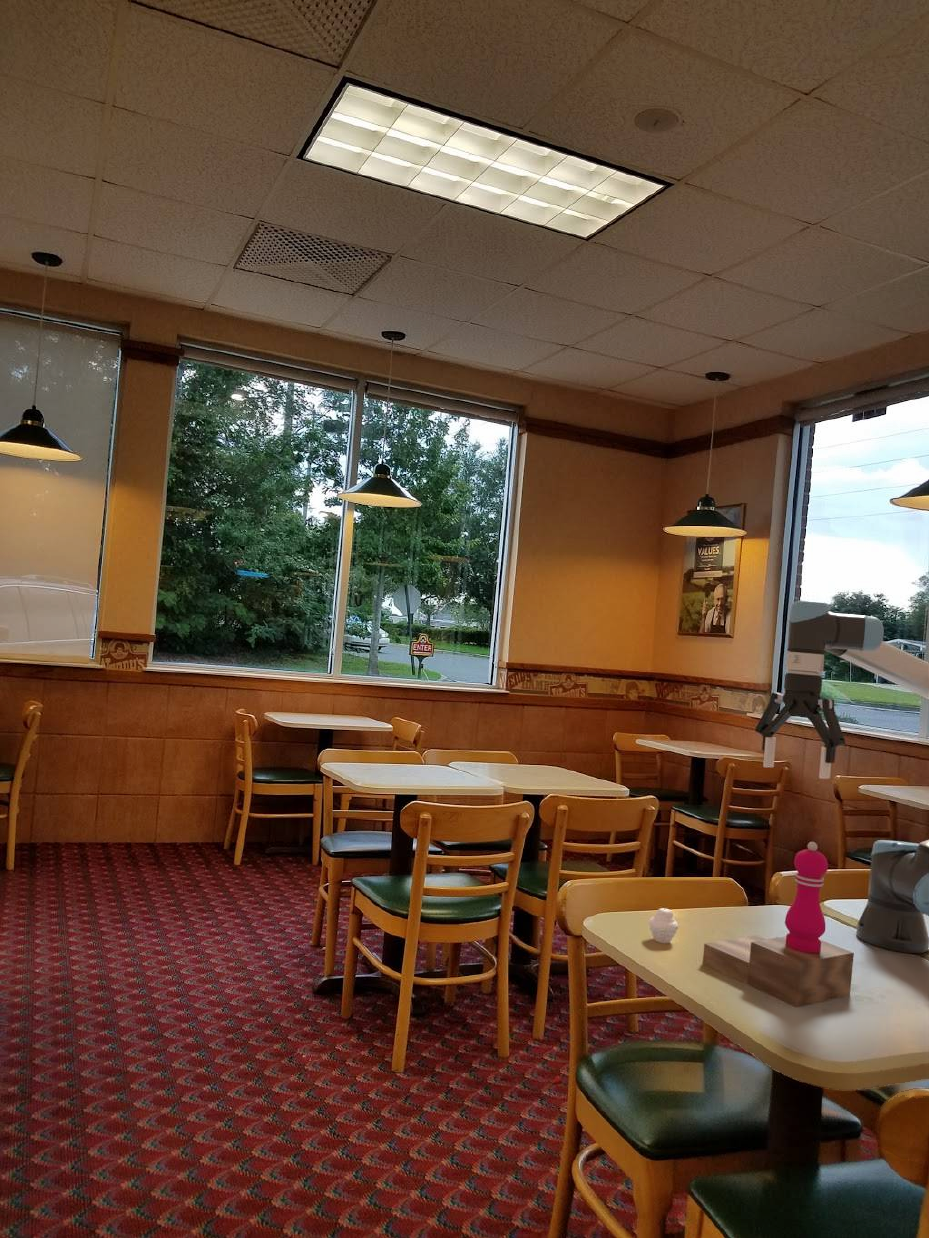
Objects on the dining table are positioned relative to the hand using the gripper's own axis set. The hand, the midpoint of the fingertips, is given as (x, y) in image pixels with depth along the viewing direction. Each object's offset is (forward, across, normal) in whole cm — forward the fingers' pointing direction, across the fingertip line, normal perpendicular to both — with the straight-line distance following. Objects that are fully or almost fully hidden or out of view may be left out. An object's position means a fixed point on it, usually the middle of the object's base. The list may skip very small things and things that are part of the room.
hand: (795, 772), depth 195 cm
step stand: (+38, +10, -16) cm, 42 cm away
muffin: (+38, -15, -21) cm, 46 cm away
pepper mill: (+30, +15, -16) cm, 37 cm away
